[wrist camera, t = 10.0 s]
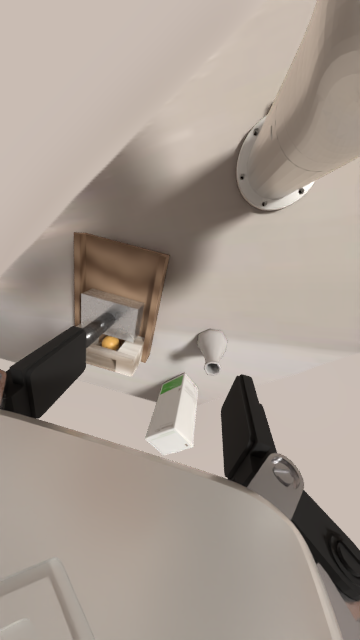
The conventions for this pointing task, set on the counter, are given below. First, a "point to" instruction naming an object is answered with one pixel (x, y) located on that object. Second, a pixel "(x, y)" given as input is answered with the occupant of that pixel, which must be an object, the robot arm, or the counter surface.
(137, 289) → the wooden tray
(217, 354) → the flask
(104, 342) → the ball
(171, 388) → the skincare box
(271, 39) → the counter surface
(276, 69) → the counter surface
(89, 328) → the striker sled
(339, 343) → the counter surface
